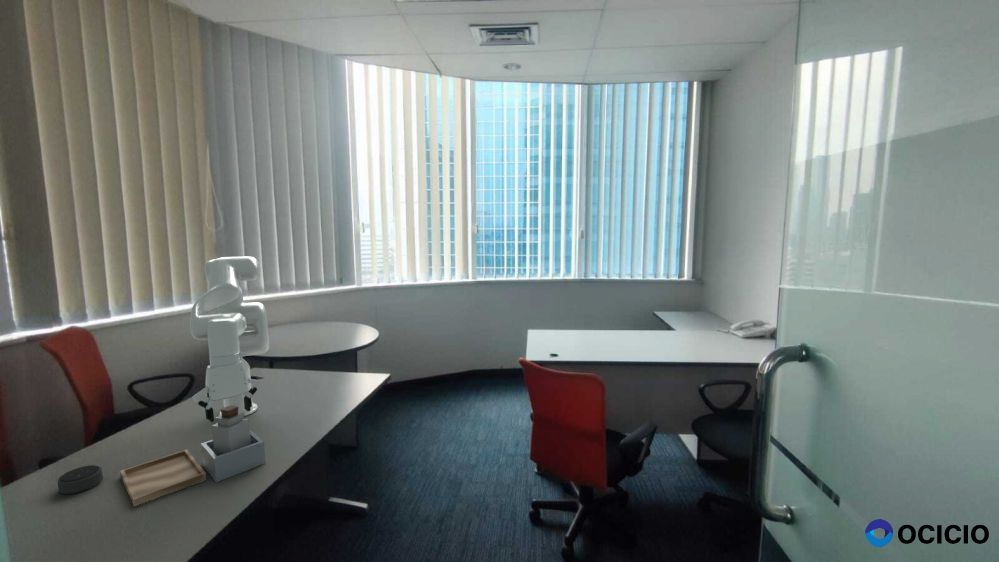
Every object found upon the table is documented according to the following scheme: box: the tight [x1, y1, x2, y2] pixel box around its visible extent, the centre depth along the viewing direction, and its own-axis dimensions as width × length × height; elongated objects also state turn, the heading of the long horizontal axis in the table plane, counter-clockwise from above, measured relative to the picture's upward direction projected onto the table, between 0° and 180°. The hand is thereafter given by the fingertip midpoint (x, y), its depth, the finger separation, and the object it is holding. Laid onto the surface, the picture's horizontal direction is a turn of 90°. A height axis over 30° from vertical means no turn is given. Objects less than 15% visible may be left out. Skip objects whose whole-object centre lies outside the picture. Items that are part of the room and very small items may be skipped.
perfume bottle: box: [211, 405, 251, 456], centre depth 130 cm, size 7×7×18 cm
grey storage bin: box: [200, 429, 266, 483], centre depth 131 cm, size 13×13×7 cm
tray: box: [119, 449, 207, 507], centre depth 124 cm, size 20×16×2 cm
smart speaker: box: [57, 464, 103, 495], centre depth 120 cm, size 9×9×4 cm
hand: (229, 415), depth 128 cm, fingers open, 9 cm apart
